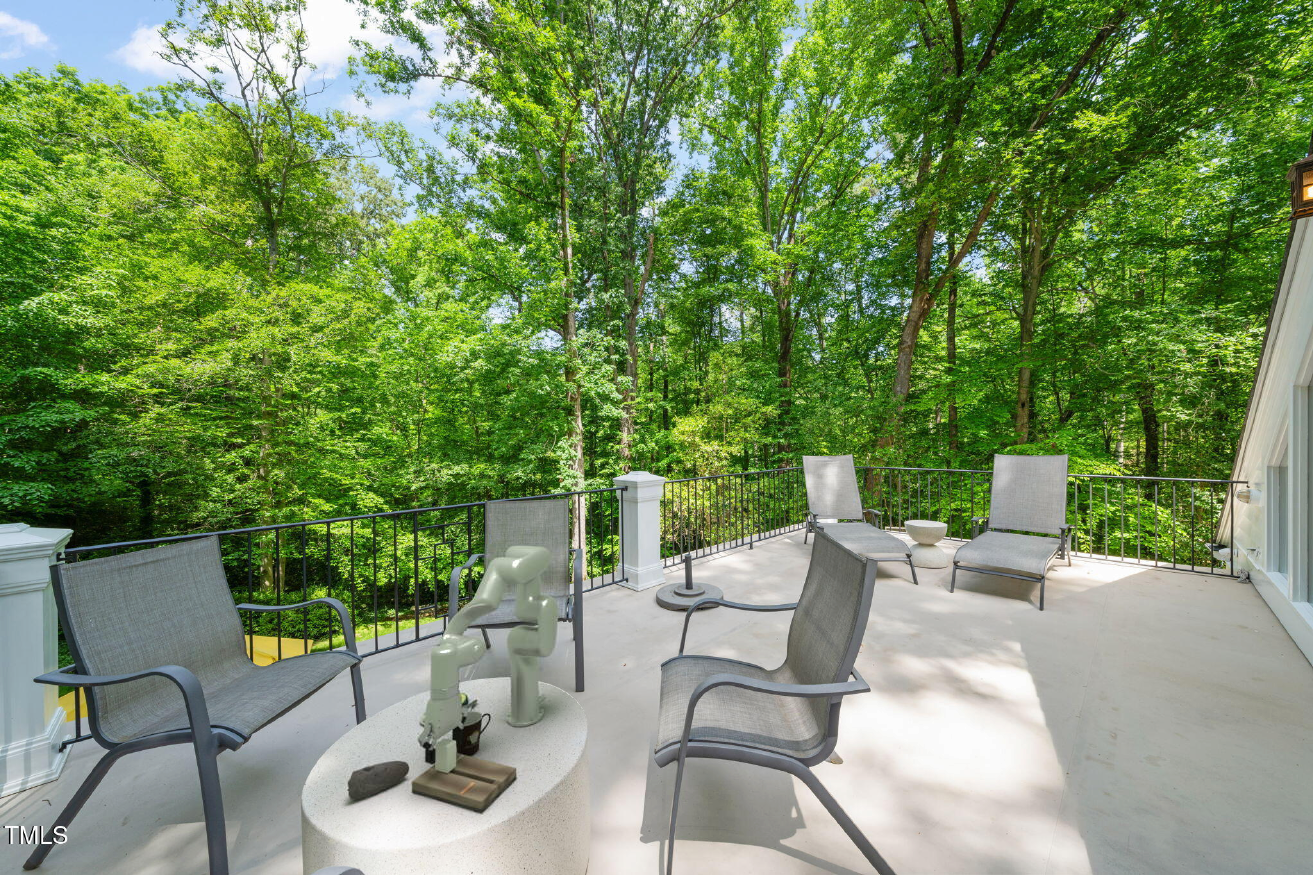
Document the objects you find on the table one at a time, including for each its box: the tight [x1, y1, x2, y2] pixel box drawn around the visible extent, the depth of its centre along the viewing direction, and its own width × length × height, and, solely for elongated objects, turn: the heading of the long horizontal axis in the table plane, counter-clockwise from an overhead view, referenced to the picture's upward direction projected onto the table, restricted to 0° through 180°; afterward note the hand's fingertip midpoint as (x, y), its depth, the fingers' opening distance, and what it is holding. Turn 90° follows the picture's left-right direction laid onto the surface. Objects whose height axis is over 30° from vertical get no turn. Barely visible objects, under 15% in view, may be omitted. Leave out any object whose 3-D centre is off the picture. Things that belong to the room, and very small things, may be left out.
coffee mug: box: [456, 710, 492, 757], centre depth 148 cm, size 12×9×10 cm
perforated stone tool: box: [347, 760, 410, 801], centre depth 131 cm, size 15×5×7 cm, turn 125°
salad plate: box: [419, 692, 478, 726], centre depth 168 cm, size 19×18×5 cm
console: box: [411, 752, 517, 814], centre depth 131 cm, size 14×24×3 cm, turn 69°
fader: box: [434, 737, 457, 773], centre depth 134 cm, size 3×4×9 cm
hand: (444, 752), depth 134 cm, fingers open, 9 cm apart
